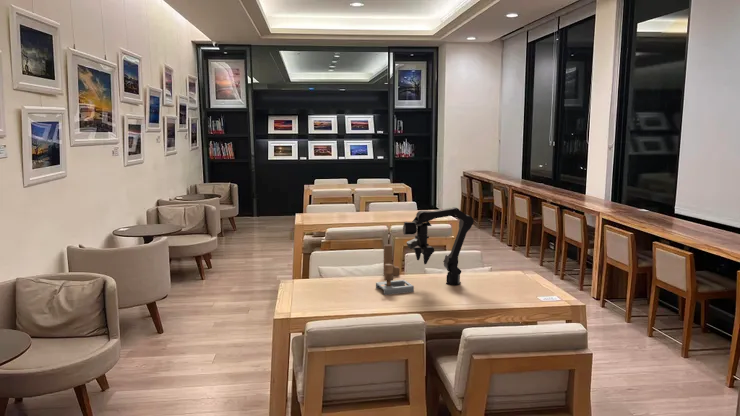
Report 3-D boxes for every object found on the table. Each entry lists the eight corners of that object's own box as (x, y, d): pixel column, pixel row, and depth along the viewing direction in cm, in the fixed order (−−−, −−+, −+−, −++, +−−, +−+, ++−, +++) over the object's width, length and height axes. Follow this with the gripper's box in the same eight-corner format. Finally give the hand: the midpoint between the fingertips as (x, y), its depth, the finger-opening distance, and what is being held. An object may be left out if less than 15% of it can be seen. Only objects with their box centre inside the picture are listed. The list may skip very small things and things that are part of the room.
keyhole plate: (404, 285, 297) (404, 279, 296) (413, 291, 284) (413, 285, 284) (375, 287, 291) (375, 282, 291) (384, 294, 279) (384, 288, 279)
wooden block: (398, 273, 319) (398, 244, 317) (399, 275, 315) (399, 245, 312) (383, 274, 319) (383, 244, 316) (384, 276, 314) (384, 245, 312)
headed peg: (396, 291, 286) (396, 265, 283) (386, 292, 283) (386, 266, 281) (390, 288, 291) (390, 262, 289) (380, 289, 288) (381, 264, 286)
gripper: (401, 231, 298) (401, 259, 300) (415, 238, 281) (415, 267, 283) (420, 230, 302) (419, 257, 304) (435, 237, 284) (434, 265, 287)
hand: (421, 262), depth 294 cm, fingers open, 9 cm apart
